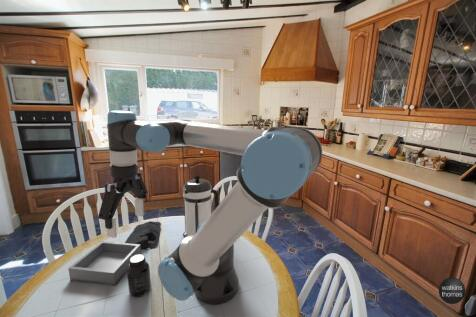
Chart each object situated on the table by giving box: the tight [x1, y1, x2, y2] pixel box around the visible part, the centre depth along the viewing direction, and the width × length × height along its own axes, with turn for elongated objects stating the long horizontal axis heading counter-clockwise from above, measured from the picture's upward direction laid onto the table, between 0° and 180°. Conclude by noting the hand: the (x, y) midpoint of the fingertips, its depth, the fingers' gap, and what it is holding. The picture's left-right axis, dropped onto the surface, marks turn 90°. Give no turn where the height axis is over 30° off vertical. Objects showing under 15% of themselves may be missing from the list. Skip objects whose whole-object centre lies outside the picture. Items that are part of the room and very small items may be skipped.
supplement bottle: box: [126, 253, 152, 298], centre depth 77 cm, size 7×7×12 cm
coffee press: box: [182, 174, 220, 238], centre depth 110 cm, size 17×16×30 cm
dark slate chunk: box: [124, 220, 162, 251], centre depth 110 cm, size 15×22×5 cm
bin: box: [68, 240, 142, 287], centre depth 89 cm, size 17×17×5 cm
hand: (126, 225), depth 77 cm, fingers open, 13 cm apart
